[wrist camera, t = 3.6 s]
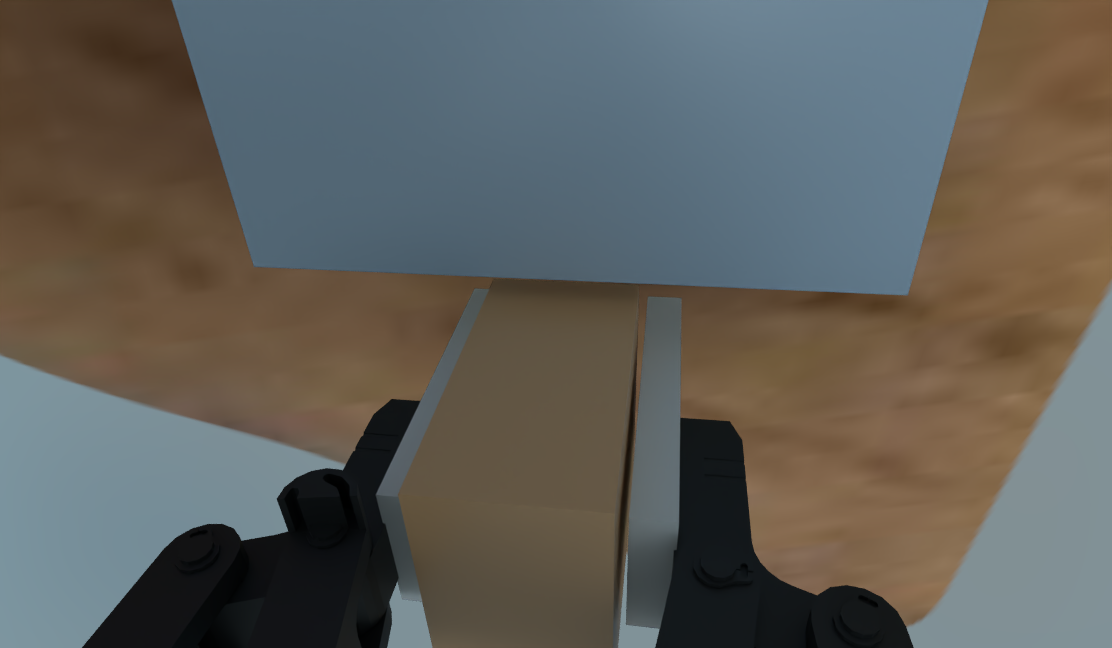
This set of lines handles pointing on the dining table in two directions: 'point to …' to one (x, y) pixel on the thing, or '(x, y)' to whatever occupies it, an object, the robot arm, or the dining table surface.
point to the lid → (572, 223)
